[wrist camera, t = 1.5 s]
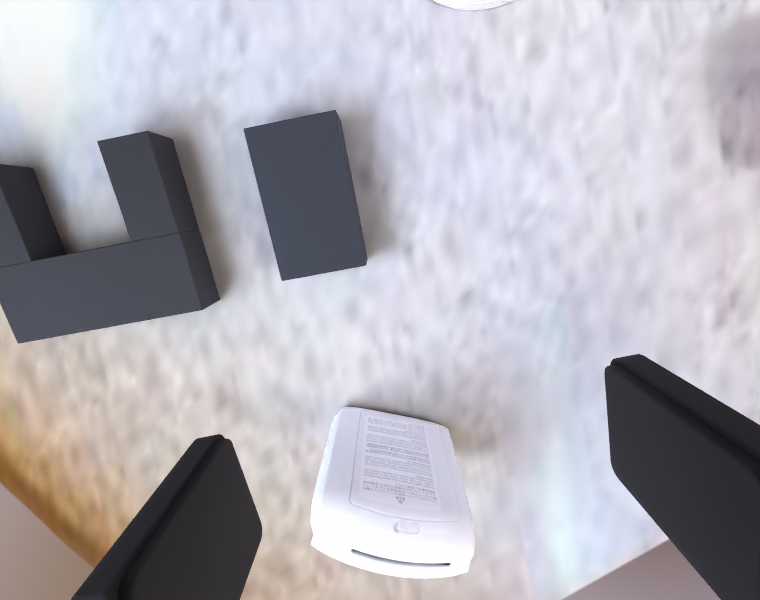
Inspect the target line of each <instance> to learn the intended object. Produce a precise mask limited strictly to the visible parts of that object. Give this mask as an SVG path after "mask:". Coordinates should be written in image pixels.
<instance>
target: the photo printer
mask: <svg viewBox="0 0 760 600" xmlns="http://www.w3.org/2000/svg"><path fill="white" fill-rule="evenodd" d="M311 526H312V530H313V532H314V535H313V539H312V546H314V547H315V548H317V549H318V550H320V551H321V552H323V553H325V554H326V555H328V556H330V557H332V558H335V559H337V560H339V561H342V562H344V563H346V564H349V565H352V566H355V567H358V568H361V569H365V570H368V571H372V572H376V573H381V574H385V575H391V576H398V577H406V578H443V577H450V576H455V575H459V574H463V573H466V572H467V571H468V570H469V564H470V561H471V559H472V558H473V556H474V524H473V517H472V513H471V509H470V505H469V502H468V498H467V494H466V491H465V488H464V484H463V481H462V477H461V473H460V470H459V466H458V463H457V459H456V455H455V452H454V448H453V444H452V441H451V437H450V434H449V431H448V429H447V428H446V427H444V426H442V425H439V424H436V423H433V422H429V421H424V420H420V419H415V418H410V417H405V416H400V415H395V414H390V413H385V412H380V411H374V410H369V409H363V408H356V407H342V408H341V410H340V411H339V412H338V413H337V414H336V415H335V417H334V418H333V421H332V424H331V428H330V432H329V436H328V440H327V444H326V448H325V452H324V455H323V460H322V463H321V467H320V472H319V476H318V480H317V484H316V488H315V492H314V496H313V500H312V508H311Z"/></svg>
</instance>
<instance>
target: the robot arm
mask: <svg viewBox="0 0 760 600" xmlns="http://www.w3.org/2000/svg"><path fill="white" fill-rule="evenodd" d="M433 1H435V2H437V3H439V4H440V5H444V6H447V7H451V8H454V9H458V10H472V11H478V10H484V9H490V8H496V7H498V6H501V5H503V4H506V3H509V2H511V1H513V0H433ZM605 386H606V400H607V414H608V428H609V443H610V457H611V464H612V468H613V470H614V472H615V474H616V476H617V477H618V479H619V480H620V481H621V482H622V483H623V485H624V486H625V487H626V488H627V489H628V491H629V492H630V493H631V494H632V495H633V496H634V498H635V499H636V500H637V501H638V502H639V503H640V505H641V506H642V507H643V508H644V509H645V511H646V512H647V513H648V514H649V515H650V516H651V518H652V519H653V520H654V521H655V522H656V524H657V525H658V526H659V527H660V528H661V529H662V531H663V532H664V533H665V534H666V535H667V537H668V538H669V539H670V540H671V541H672V542H673V544H674V545H675V546H676V547H677V548H678V549H679V551H680V552H681V553H682V554H683V555H684V557H685V558H686V559H687V560H688V561H689V562H690V563H691V565H692V566H693V567H694V568H695V569H696V571H697V572H698V573H699V574H700V575H701V577H702V578H703V579H704V580H705V581H706V583H707V584H708V585H709V586H710V587H711V588H712V589H713V591H714V592H715V593H716V594H717V595H718V597H719V598H720V599H721V600H760V425H759V424H757V423H755V422H754V421H752V420H750V419H749V418H747V417H745V416H744V415H742V414H740V413H739V412H737V411H735V410H734V409H732V408H730V407H729V406H727V405H725V404H724V403H722V402H720V401H718V400H717V399H715V398H713V397H712V396H710V395H708V394H707V393H705V392H703V391H702V390H700V389H698V388H697V387H695V386H693V385H692V384H690V383H688V382H687V381H685V380H683V379H682V378H680V377H678V376H677V375H675V374H673V373H672V372H670V371H668V370H667V369H665V368H663V367H662V366H660V365H658V364H657V363H655V362H653V361H651V360H650V359H648V358H646V357H645V356H643V355H640V354H636V355H631V356H626V357H621V358H615V359H613V360H612V361H611V364H610V366H607V367H606V368H605ZM261 537H262V525H261V521H260V518H259V515H258V513H257V510H256V507H255V504H254V502H253V499H252V496H251V493H250V491H249V488H248V485H247V482H246V480H245V477H244V474H243V471H242V469H241V466H240V463H239V460H238V458H237V455H236V452H235V449H234V447H233V444H232V442H231V441H230V439H225V438H224V437H223V436H222V435H220V434H218V435H213V436H208V437H203V438H198V439H196V440H195V441H194V442H193V443H192V444H191V446H190V447H189V448H188V449H187V451H186V452H185V453H184V455H183V456H182V457H181V458H180V460H179V461H178V462H177V464H176V465H175V466H174V467H173V469H172V470H171V471H170V473H169V474H168V475H167V476H166V478H165V479H164V480H163V482H162V483H161V484H160V485H159V487H158V488H157V489H156V491H155V492H154V493H153V494H152V496H151V497H150V498H149V500H148V501H147V502H146V503H145V505H144V506H143V507H142V509H141V510H140V511H139V512H138V514H137V515H136V516H135V518H134V519H133V520H132V521H131V523H130V524H129V525H128V527H127V528H126V529H125V530H124V532H123V533H122V534H121V536H120V537H119V538H118V539H117V541H116V542H115V543H114V545H113V546H112V547H111V548H110V550H109V551H108V552H107V554H106V555H105V556H104V557H103V559H102V560H101V561H100V563H99V564H98V565H97V566H96V568H95V569H94V570H93V572H92V573H91V574H90V575H89V577H88V578H87V579H86V581H85V582H84V583H83V584H82V586H81V587H80V588H79V590H78V591H77V592H76V593H75V595H74V596H73V597H72V599H71V600H240V597H241V594H242V592H243V589H244V586H245V583H246V580H247V578H248V575H249V572H250V569H251V566H252V564H253V561H254V558H255V555H256V552H257V549H258V547H259V544H260V541H261Z"/></svg>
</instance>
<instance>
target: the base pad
mask: <svg viewBox="0 0 760 600" xmlns="http://www.w3.org/2000/svg"><path fill="white" fill-rule="evenodd" d="M98 145H99V148H100V151H101V154H102V156H103V159H104V162H105V165H106V168H107V171H108V174H109V177H110V180H111V183H112V186H113V189H114V192H115V195H116V197H117V200H118V203H119V206H120V209H121V212H122V215H123V218H124V221H125V224H126V227H127V230H128V233H129V236H130V239H131V241H132V242H128V243H123V244H118V245H113V246H108V247H102V248H97V249H92V250H87V251H82V252H76V253H71V254H65V251H64V249H63V246H62V244H61V241H60V238H59V236H58V233H57V231H56V228H55V225H54V223H53V220H52V218H51V215H50V213H49V210H48V207H47V205H46V202H45V200H44V197H43V194H42V192H41V189H40V187H39V184H38V181H37V179H36V176H35V174H34V171H33V169H32V168H30V167H21V166H12V165H3V164H0V304H1V306H2V308H3V310H4V313H5V315H6V317H7V319H8V322H9V324H10V326H11V329H12V331H13V333H14V335H15V338H16V340H17V342H18V343H24V342H29V341H35V340H40V339H46V338H51V337H57V336H62V335H67V334H73V333H78V332H84V331H89V330H95V329H100V328H106V327H111V326H117V325H122V324H128V323H133V322H139V321H144V320H150V319H155V318H160V317H166V316H171V315H177V314H182V313H188V312H193V311H199V310H203V309H205V308H207V307H208V306H210V305H212V304H213V303H215V302H217V301H219V300H220V298H219V294H218V291H217V288H216V284H215V281H214V278H213V274H212V271H211V267H210V264H209V261H208V257H207V254H206V251H205V247H204V244H203V240H202V237H201V234H200V231H199V227H198V224H197V221H196V217H195V214H194V210H193V207H192V204H191V200H190V197H189V194H188V190H187V187H186V183H185V180H184V177H183V173H182V170H181V167H180V163H179V160H178V156H177V153H176V150H175V146H174V143H173V140H172V139H170V138H167V137H164V136H161V135H158V134H155V133H152V132H149V131H145V132H140V133H135V134H130V135H126V136H121V137H116V138H111V139H106V140H101V141H98Z"/></svg>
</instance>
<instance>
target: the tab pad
mask: <svg viewBox="0 0 760 600" xmlns="http://www.w3.org/2000/svg"><path fill="white" fill-rule="evenodd" d="M244 133H245V137H246V141H247V145H248V149H249V153H250V157H251V161H252V164H253V168H254V172H255V176H256V180H257V184H258V188H259V192H260V196H261V200H262V204H263V208H264V212H265V216H266V220H267V224H268V228H269V232H270V236H271V240H272V244H273V248H274V252H275V256H276V259H277V263H278V267H279V271H280V275H281V279H282V281H284V280H290V279H295V278H300V277H306V276H311V275H317V274H322V273H328V272H333V271H338V270H344V269H349V268H355V267H360V266H365V265H366V263H367V253H366V248H365V243H364V238H363V233H362V228H361V223H360V217H359V212H358V207H357V202H356V197H355V192H354V187H353V181H352V176H351V171H350V166H349V161H348V156H347V151H346V146H345V140H344V135H343V130H342V125H341V121H340V118H339V116H338V114H337V112H336V110H333V111H328V112H323V113H318V114H314V115H309V116H304V117H299V118H294V119H289V120H284V121H279V122H274V123H270V124H265V125H260V126H255V127H250V128H245V129H244Z"/></svg>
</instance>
